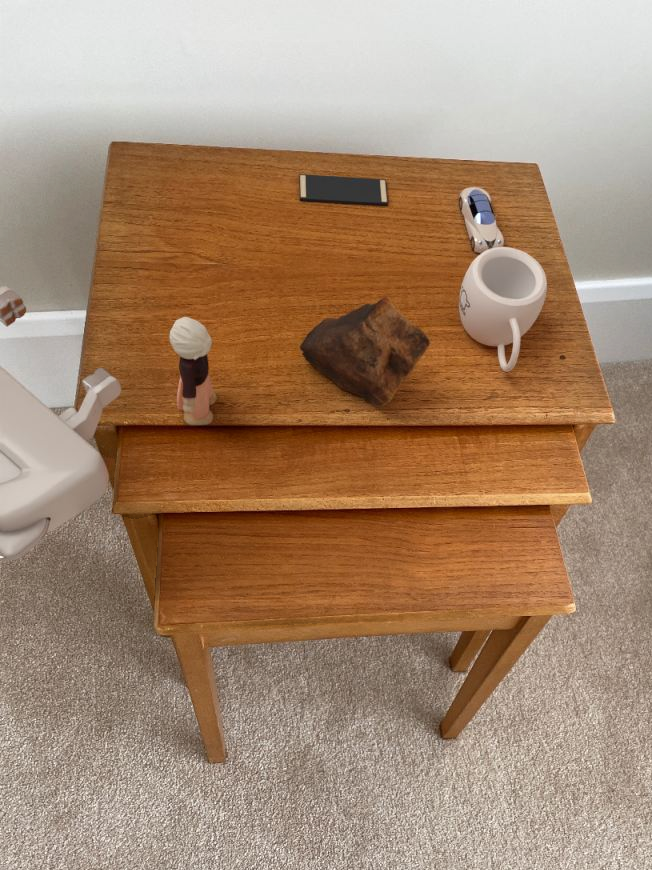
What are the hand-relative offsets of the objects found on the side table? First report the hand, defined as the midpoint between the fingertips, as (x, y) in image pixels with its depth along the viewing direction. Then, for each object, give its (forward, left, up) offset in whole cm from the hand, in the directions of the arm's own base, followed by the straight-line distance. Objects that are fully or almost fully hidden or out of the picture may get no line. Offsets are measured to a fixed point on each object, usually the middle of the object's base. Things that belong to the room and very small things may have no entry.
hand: (64, 338), depth 53 cm
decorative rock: (+8, +24, -20) cm, 32 cm away
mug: (+15, +38, -20) cm, 46 cm away
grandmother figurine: (0, +10, -20) cm, 23 cm away
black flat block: (-10, +42, -20) cm, 48 cm away
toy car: (+5, +49, -20) cm, 53 cm away
